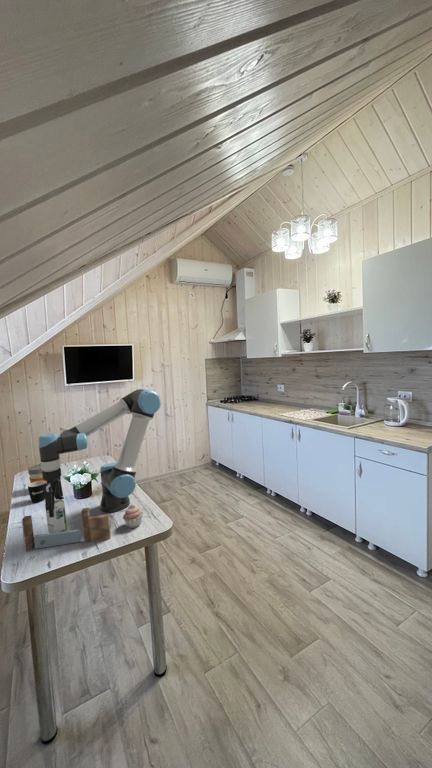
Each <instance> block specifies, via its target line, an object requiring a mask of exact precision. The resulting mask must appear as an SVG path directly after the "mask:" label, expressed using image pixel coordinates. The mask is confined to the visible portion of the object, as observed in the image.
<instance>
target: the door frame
mask: <svg viewBox="0 0 432 768" xmlns="http://www.w3.org/2000/svg"><path fill="white" fill-rule="evenodd" d="M80 511H81V518H82V519H81V521H82V531H83V539H84V543H92V542H96V541H101V540H102V541H104V540H109V539H111V538H112V533H111V532H112V531H111V524H110V514H101V515H93V516H90V515H91V514H90V508H89V507H84V508H82V509H81V510H80ZM21 520H22V529H23V536H24V545H25V546H24V547H25V552H30V551H33V550H35V549H36V548H35V543H34V536H35V535H34V528H33V518H32V515H25V516H23V518H22V519H21Z"/></svg>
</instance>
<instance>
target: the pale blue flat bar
mask: <svg viewBox="0 0 432 768" xmlns="http://www.w3.org/2000/svg"><path fill="white" fill-rule="evenodd" d="M81 541H82V540H81V531H80V528H79V529H72V530H68V531H64V532H57V533H50V534H49V533H45V534H38V535H34V543H35V548H34V549H41V548H47V547H55V546H61V545H62V546H63V545H68V544H75V543H80V542H81Z"/></svg>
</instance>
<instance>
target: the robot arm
mask: <svg viewBox="0 0 432 768" xmlns="http://www.w3.org/2000/svg"><path fill="white" fill-rule="evenodd" d="M161 404H162V402H161V398H160V395H159V394H158V393H157V392H155V391H153V390H151V389H142V388H141V389H140V388H139V389H135V390H134V391H132V392H130V393H128V394H126V395H125V396H123V397H121V398H120V399H119V401H118V402H116V403H114V404H113V405H111V406H109V407H107V408H105V409H103V410H102V411H100V412H98V413H97V414H95V415H93V416H91V417H88V418H87V419H86V420H83V421H81V423H78V424H76V425H75V426H73V427H72V428H69V429H64V430H63V431H61V433H60V434H59V437H58V434H57V433H45V434H42V435H40V436H39V437H38V449H39V450H38V451H39V457H40V462H39V464H40V465H41V468H42V470H43V471H42V478H43V480H46V481H47V487H45V488H44V491H45V500H44V501H45V502H44V503H45V504H44V506H45V505H46V509H45V512H46V511H48V513H49V522H50V524H55V523H57V518H56V509H55V508H54V504H55V500H56V499H60V500H64V499H65V498H64V497H65V496H64V492H63V486H62V481H61V479H62V477H61V476H62V469H61V460H60V459H61V458H60V455H62V454H67V453H72V452H77V451H82V450H86V449H87V448H88V437H89V436H91V435H92V434H94V433H96V432H98V431H100V430H101V429H102V428H104V427H106V426H108V425H109V424H111V423H113V422H115V421H117V420H118V419H120V418H122V417H124V416H126V415H131V416H132V418H131V420H130V424H129V426H128V429H127V433H126V435H125V438H124V443H123V445H122V449H121V451H120V455H119V458H118V461H114V462H108V463H106V464H103V465H102V466H100V468H99V470H100V472H99V473H100V480H101V482H100V483H101V492H102V494H101V495H102V496H101V499H100V504H99V505H100V510H101V511H102V512H103V513H115V512H119V511H122V510H126V509H127V508H129V506H130V505H131V499H130V497H129V496H130V495H131V494H132V493H134V491H135V489H136V485H137V481H136V479H135V477H136V474H137V468H136V463H137V461H138V458H139V454H140V451H141V447H142V445H143V442H144V438H145V435H146V432H147V428H148V425H149V423H150V421H151V420H153V419H154V416H155V413H157V412H158V411H159V410H160V408H161Z"/></svg>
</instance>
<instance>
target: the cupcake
mask: <svg viewBox="0 0 432 768" xmlns="http://www.w3.org/2000/svg"><path fill="white" fill-rule="evenodd" d="M124 510H125V511H124V514H122V516H123V517H122V519H123V521H124V522H125V524H126V527H127V528H129V529H135V528H139V526H140V525H141V523H142V518H143V515H144V512H142V510H141V509H140V507H138V506H137V505H136V504H133V503H132V504H130V505H129V506H128V507H127V508H125V509H124Z"/></svg>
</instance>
